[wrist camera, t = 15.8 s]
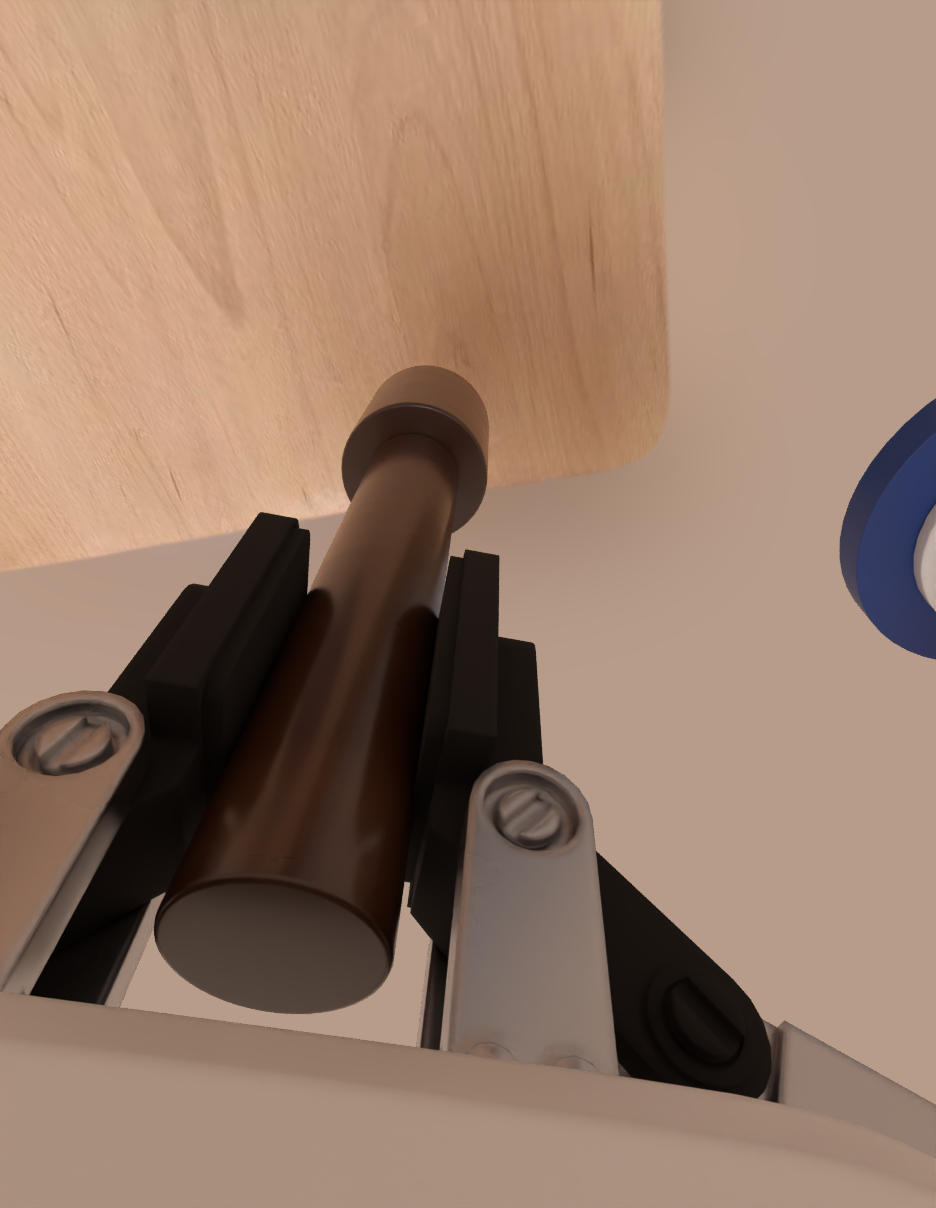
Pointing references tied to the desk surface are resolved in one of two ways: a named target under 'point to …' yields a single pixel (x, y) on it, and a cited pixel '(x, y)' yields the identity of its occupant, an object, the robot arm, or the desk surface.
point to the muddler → (336, 730)
